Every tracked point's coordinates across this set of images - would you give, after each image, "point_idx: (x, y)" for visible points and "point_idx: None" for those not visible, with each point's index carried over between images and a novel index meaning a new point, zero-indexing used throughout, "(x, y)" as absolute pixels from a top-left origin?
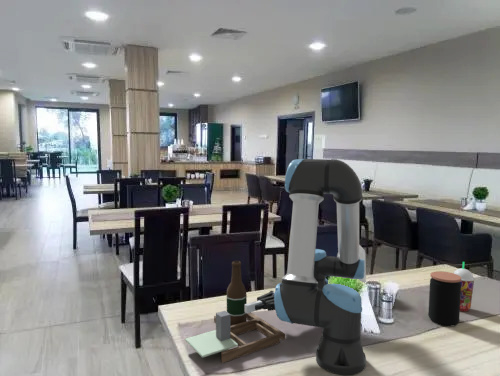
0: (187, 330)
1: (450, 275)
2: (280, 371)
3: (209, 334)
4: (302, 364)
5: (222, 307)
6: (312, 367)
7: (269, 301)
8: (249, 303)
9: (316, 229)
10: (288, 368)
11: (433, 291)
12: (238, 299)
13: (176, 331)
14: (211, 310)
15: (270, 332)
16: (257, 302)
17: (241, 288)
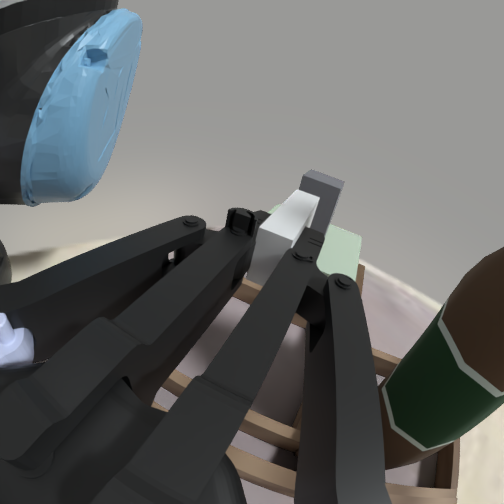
0: (427, 317)
1: None
2: (104, 240)
3: (343, 257)
4: (48, 267)
5: (500, 472)
6: (28, 262)
7: (204, 245)
8: (308, 204)
9: None
10: (85, 250)
11: None
12: (443, 311)
13: (432, 304)
14: (498, 432)
15: (174, 373)
16: (278, 214)
17: (492, 273)
